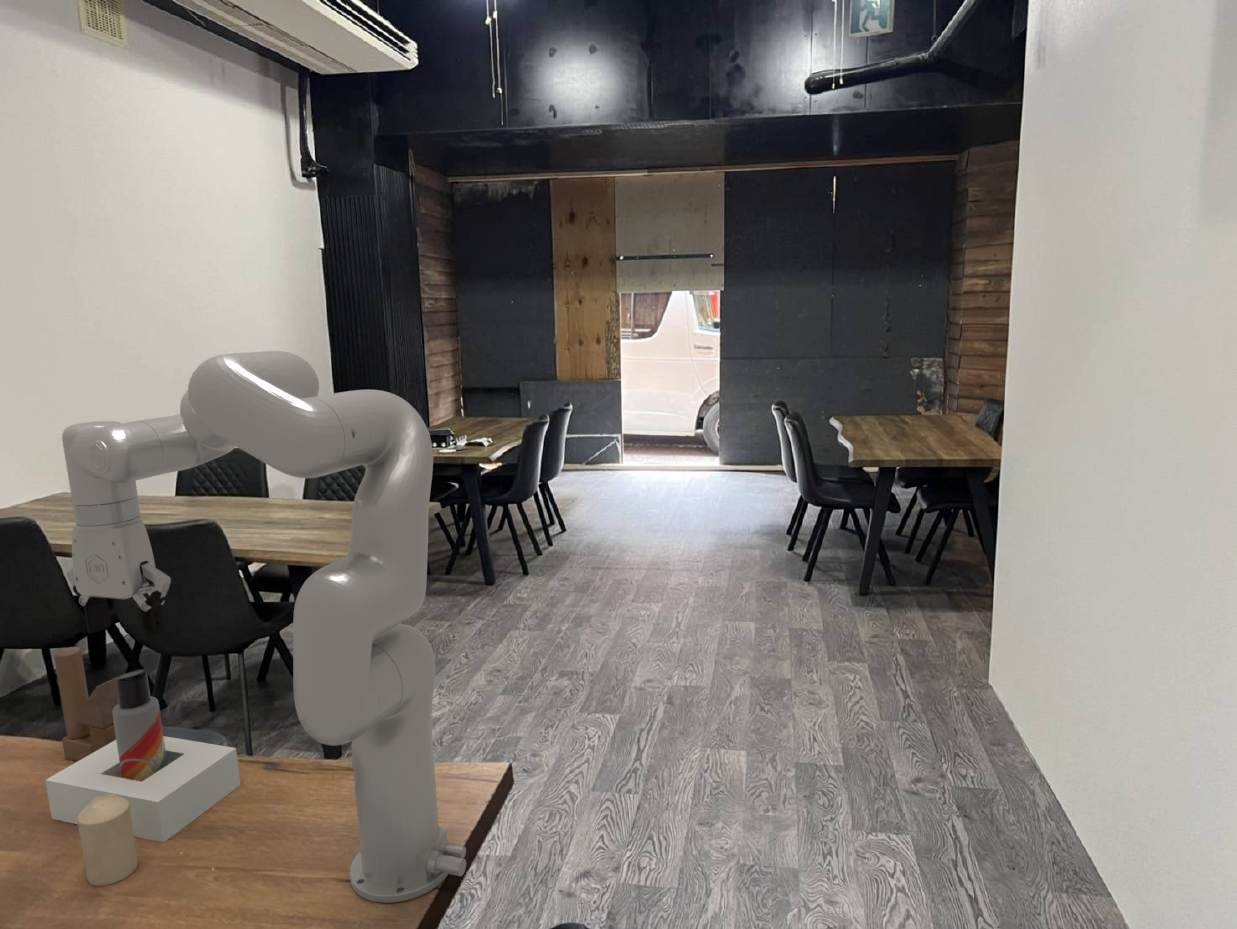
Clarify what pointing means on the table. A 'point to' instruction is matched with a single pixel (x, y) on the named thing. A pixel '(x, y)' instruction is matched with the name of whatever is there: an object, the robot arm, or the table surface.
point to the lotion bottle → (138, 727)
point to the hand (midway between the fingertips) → (126, 632)
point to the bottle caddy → (149, 786)
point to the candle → (107, 840)
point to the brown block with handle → (84, 707)
